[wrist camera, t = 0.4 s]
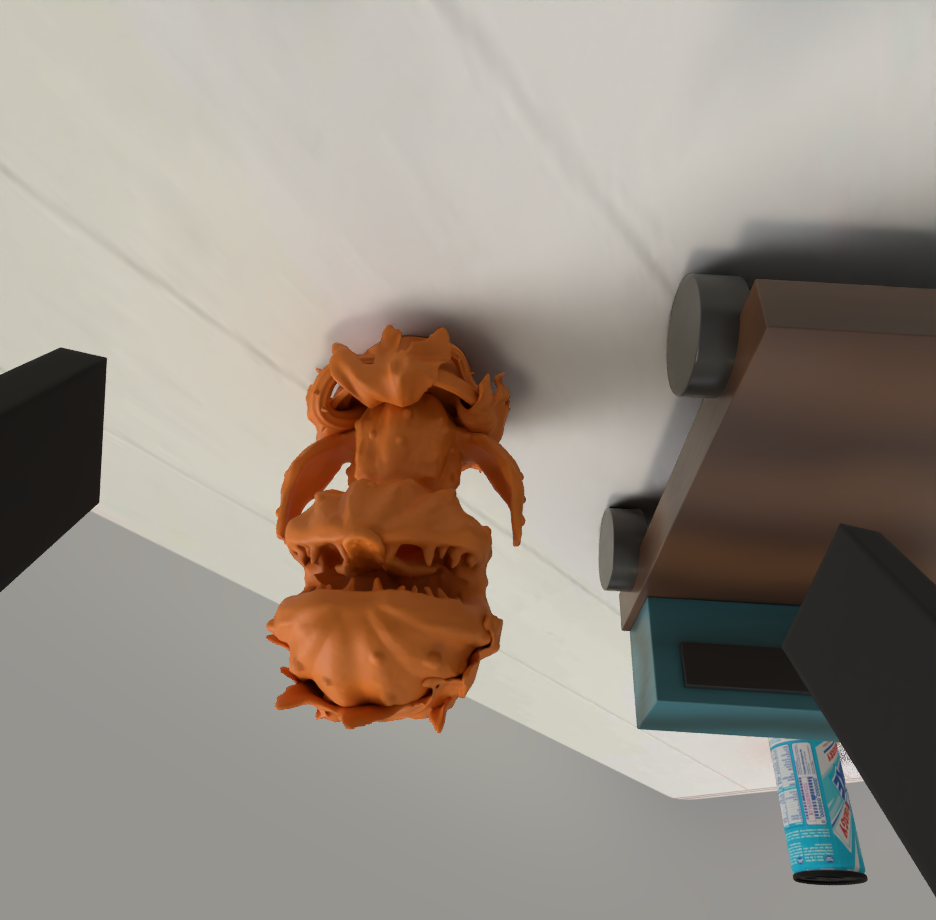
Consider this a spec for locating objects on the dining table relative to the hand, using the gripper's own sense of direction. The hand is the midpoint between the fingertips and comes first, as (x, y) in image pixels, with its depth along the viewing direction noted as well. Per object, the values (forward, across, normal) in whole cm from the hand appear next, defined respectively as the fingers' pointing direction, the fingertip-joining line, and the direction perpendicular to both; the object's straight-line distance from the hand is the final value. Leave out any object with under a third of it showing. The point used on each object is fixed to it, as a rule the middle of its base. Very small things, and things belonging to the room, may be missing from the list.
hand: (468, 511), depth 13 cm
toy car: (+25, +20, -3) cm, 33 cm away
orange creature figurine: (+24, -2, -5) cm, 25 cm away
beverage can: (+48, +41, -36) cm, 72 cm away
